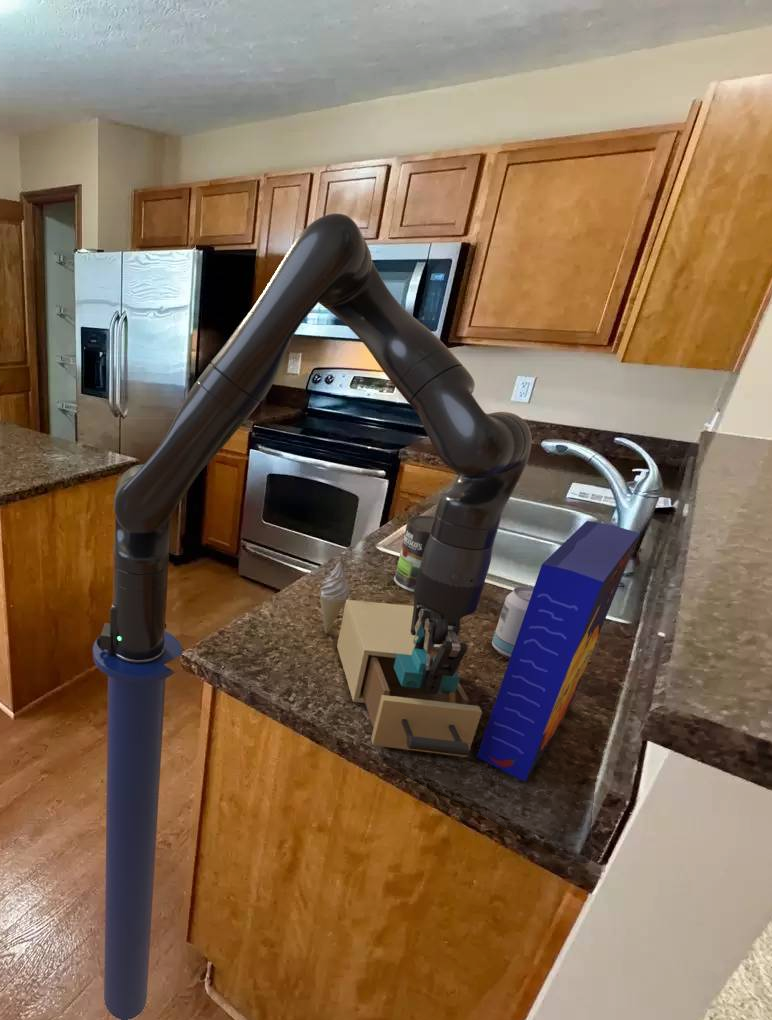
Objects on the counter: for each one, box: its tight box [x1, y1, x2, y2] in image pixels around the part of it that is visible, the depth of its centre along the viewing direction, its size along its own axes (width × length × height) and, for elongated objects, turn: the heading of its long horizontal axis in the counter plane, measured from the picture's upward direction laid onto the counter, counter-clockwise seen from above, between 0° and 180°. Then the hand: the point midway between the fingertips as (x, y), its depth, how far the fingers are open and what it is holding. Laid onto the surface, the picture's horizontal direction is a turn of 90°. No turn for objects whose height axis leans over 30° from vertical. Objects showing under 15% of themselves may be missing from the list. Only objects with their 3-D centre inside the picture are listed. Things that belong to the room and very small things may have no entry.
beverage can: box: [491, 586, 534, 660], centre depth 104 cm, size 7×7×12 cm
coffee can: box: [393, 515, 435, 593], centre depth 127 cm, size 10×10×14 cm
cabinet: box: [336, 599, 461, 704], centre depth 97 cm, size 16×14×10 cm
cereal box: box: [476, 520, 641, 783], centre depth 81 cm, size 22×6×30 cm, turn 133°
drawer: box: [361, 655, 483, 758], centre depth 85 cm, size 20×12×8 cm, turn 171°
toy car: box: [394, 648, 461, 694], centre depth 82 cm, size 4×7×4 cm, turn 81°
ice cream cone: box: [318, 560, 351, 634], centre depth 108 cm, size 5×5×15 cm
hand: (422, 679), depth 83 cm, fingers closed on toy car, 4 cm apart
